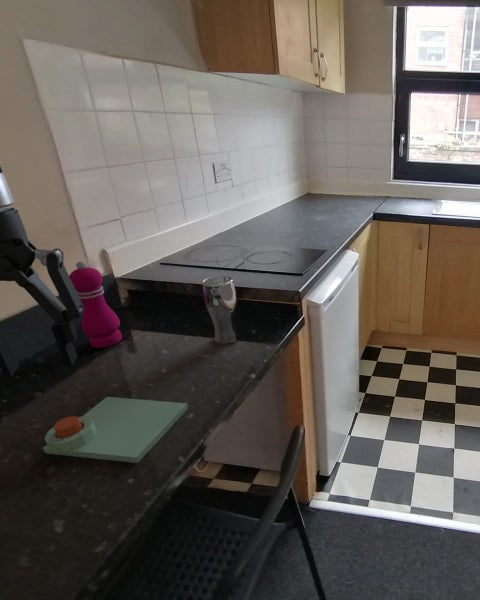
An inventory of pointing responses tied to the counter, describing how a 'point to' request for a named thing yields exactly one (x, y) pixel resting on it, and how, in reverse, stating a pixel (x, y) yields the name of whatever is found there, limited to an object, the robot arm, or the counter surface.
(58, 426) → the power button
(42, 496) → the counter surface
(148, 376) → the counter surface
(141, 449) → the scale
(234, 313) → the beer glass
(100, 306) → the pepper mill
